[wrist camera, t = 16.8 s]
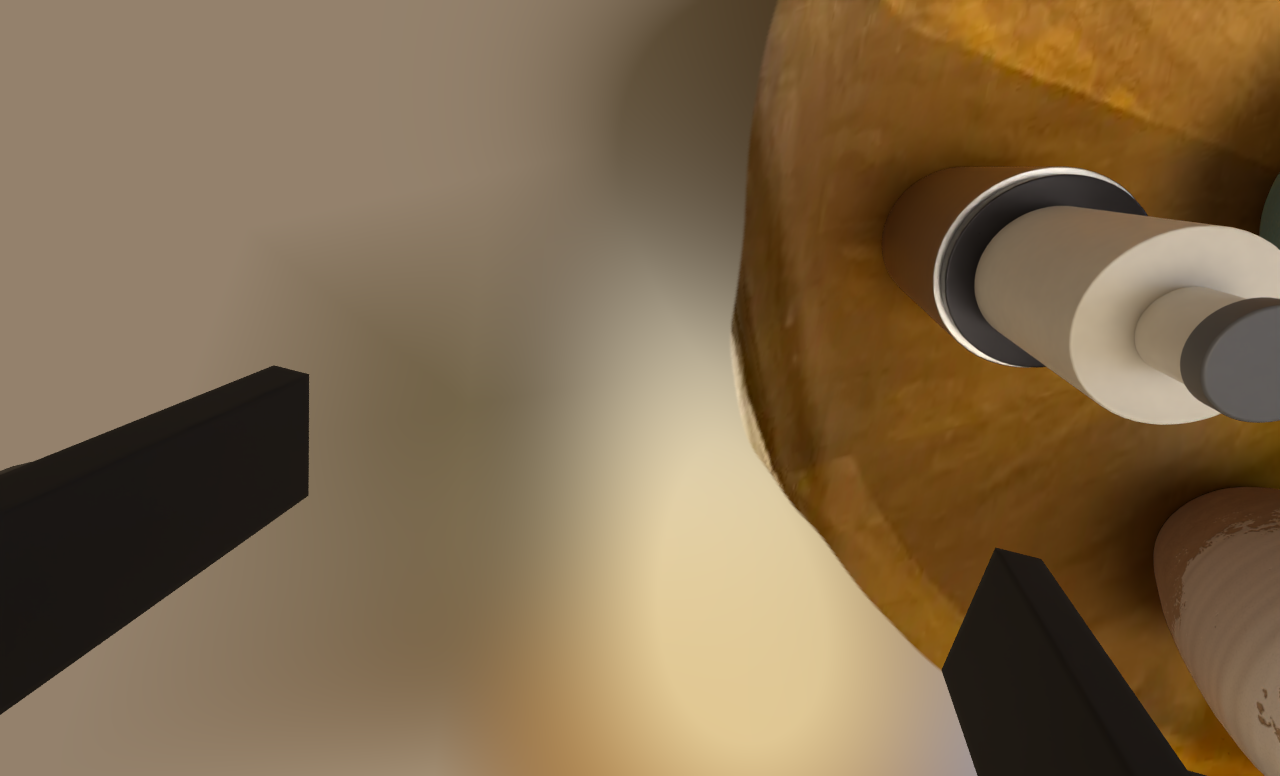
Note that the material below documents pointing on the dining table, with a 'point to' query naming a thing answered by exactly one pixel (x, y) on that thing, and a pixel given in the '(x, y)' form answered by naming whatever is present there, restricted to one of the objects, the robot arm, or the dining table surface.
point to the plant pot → (1272, 215)
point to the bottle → (1141, 311)
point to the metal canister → (978, 238)
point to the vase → (1228, 609)
